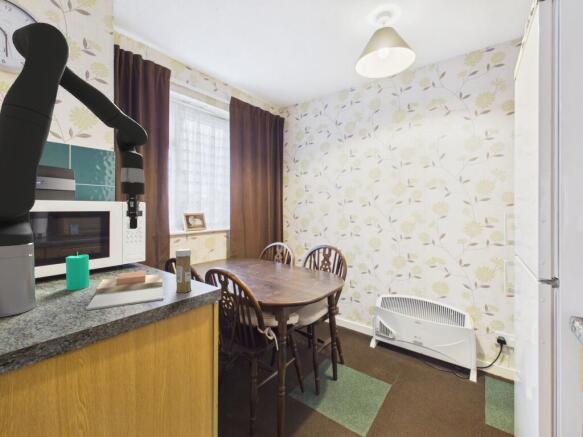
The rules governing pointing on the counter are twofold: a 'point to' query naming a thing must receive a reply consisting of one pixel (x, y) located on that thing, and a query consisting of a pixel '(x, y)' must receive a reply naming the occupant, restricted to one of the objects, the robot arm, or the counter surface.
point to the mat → (126, 297)
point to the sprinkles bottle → (183, 270)
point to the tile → (131, 277)
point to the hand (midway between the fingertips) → (133, 228)
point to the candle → (77, 272)
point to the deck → (112, 286)
